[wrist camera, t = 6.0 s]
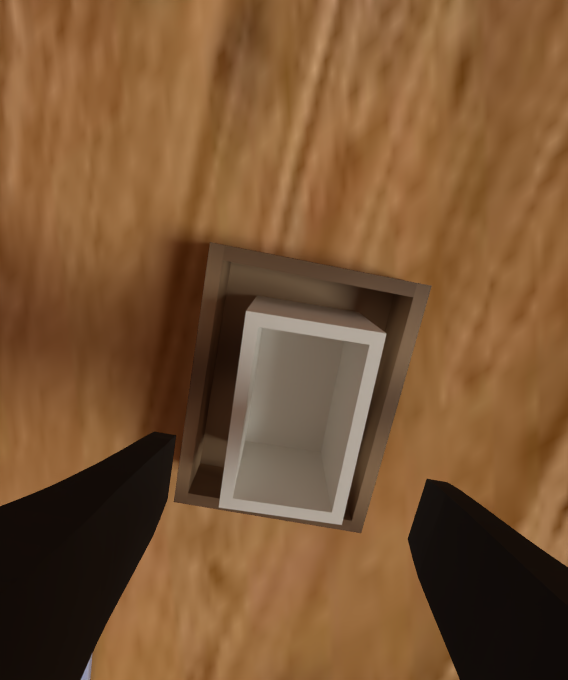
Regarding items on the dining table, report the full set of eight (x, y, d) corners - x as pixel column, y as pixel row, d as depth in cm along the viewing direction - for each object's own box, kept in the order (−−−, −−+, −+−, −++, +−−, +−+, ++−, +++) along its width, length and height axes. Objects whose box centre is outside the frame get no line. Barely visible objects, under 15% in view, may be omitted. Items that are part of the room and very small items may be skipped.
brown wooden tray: (349, 492, 20) (361, 533, 17) (190, 464, 20) (173, 502, 17) (406, 280, 18) (431, 286, 15) (223, 244, 17) (210, 242, 14)
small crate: (327, 456, 19) (341, 524, 14) (235, 443, 19) (218, 507, 14) (358, 312, 17) (386, 333, 12) (256, 295, 17) (246, 310, 12)
